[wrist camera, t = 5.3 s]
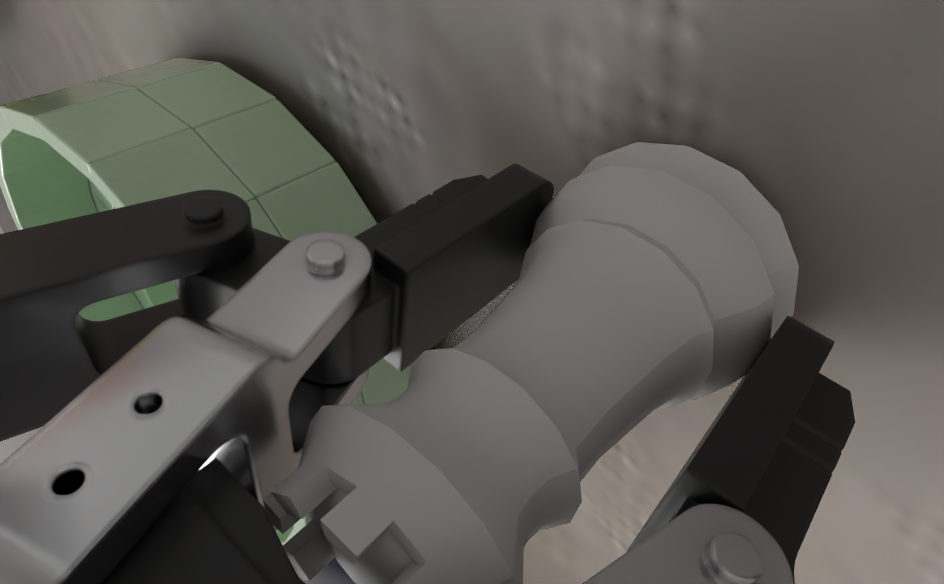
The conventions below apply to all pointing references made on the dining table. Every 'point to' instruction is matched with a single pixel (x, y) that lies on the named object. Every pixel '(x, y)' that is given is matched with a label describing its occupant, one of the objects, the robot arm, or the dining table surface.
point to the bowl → (177, 167)
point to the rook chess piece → (547, 375)
